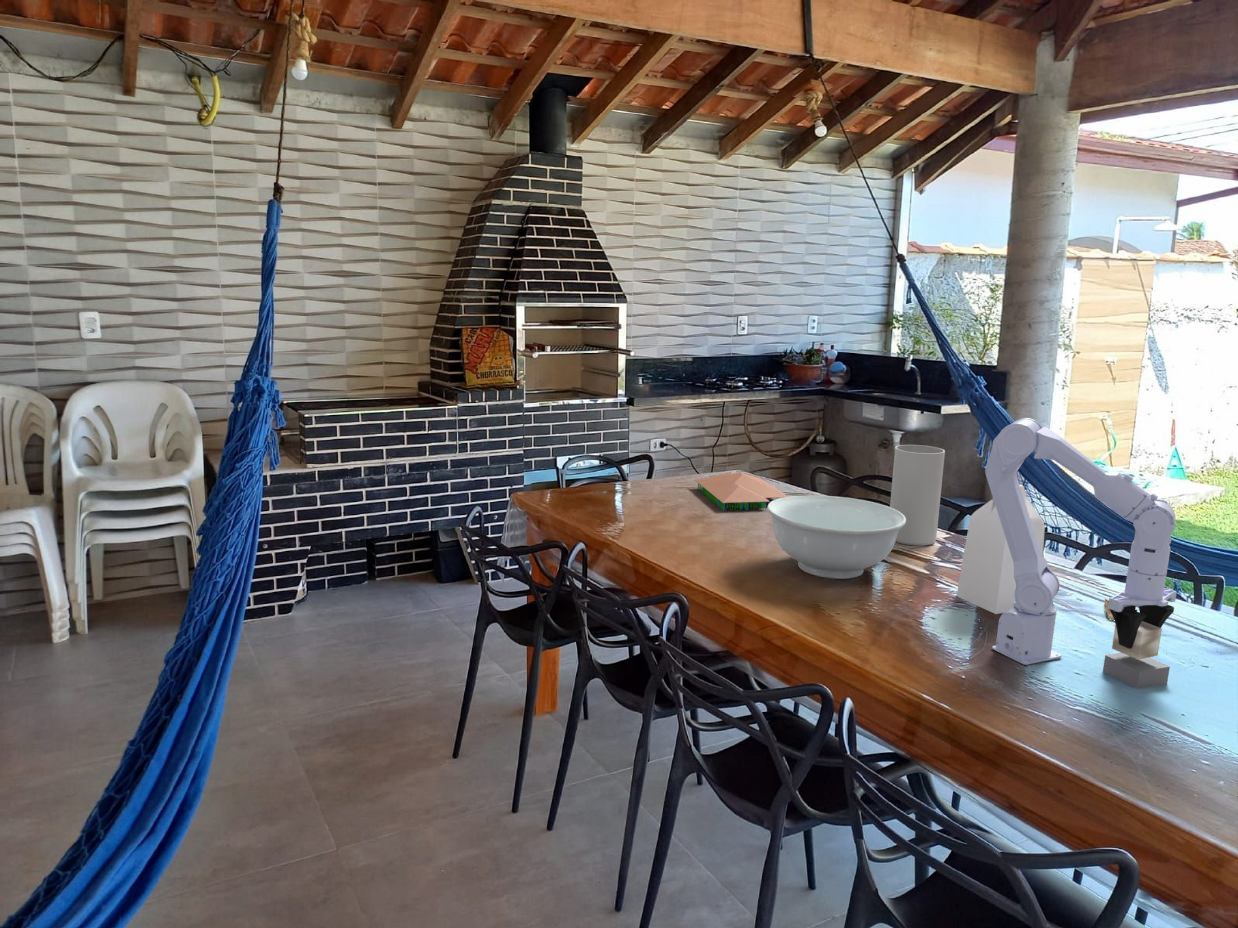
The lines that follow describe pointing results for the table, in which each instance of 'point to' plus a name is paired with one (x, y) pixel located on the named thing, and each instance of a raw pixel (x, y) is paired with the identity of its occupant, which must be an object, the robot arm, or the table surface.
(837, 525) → the bowl
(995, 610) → the milk
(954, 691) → the table surface
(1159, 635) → the cream cube
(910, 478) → the cylinder vase
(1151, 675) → the gray base block
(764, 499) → the house
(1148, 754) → the table surface
